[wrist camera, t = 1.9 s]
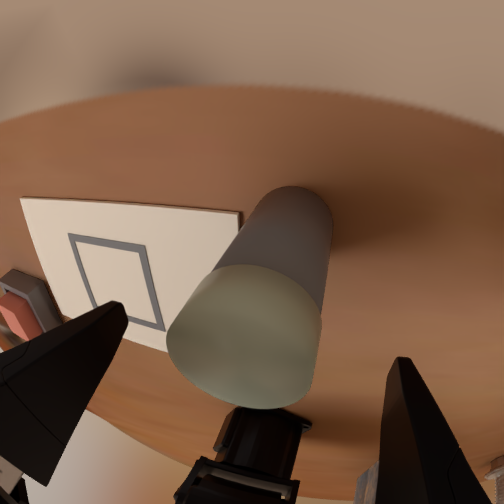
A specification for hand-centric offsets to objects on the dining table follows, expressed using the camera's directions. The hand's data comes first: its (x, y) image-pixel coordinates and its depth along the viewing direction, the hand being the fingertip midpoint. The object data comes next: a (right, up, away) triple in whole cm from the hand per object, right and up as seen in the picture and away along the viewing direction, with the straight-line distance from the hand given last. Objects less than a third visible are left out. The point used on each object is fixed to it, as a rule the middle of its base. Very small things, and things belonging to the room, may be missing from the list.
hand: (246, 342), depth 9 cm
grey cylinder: (+2, +4, +6) cm, 8 cm away
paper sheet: (-10, 0, +13) cm, 16 cm away
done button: (-25, -4, +18) cm, 31 cm away
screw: (+34, -26, +14) cm, 45 cm away
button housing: (-24, -3, +20) cm, 31 cm away
